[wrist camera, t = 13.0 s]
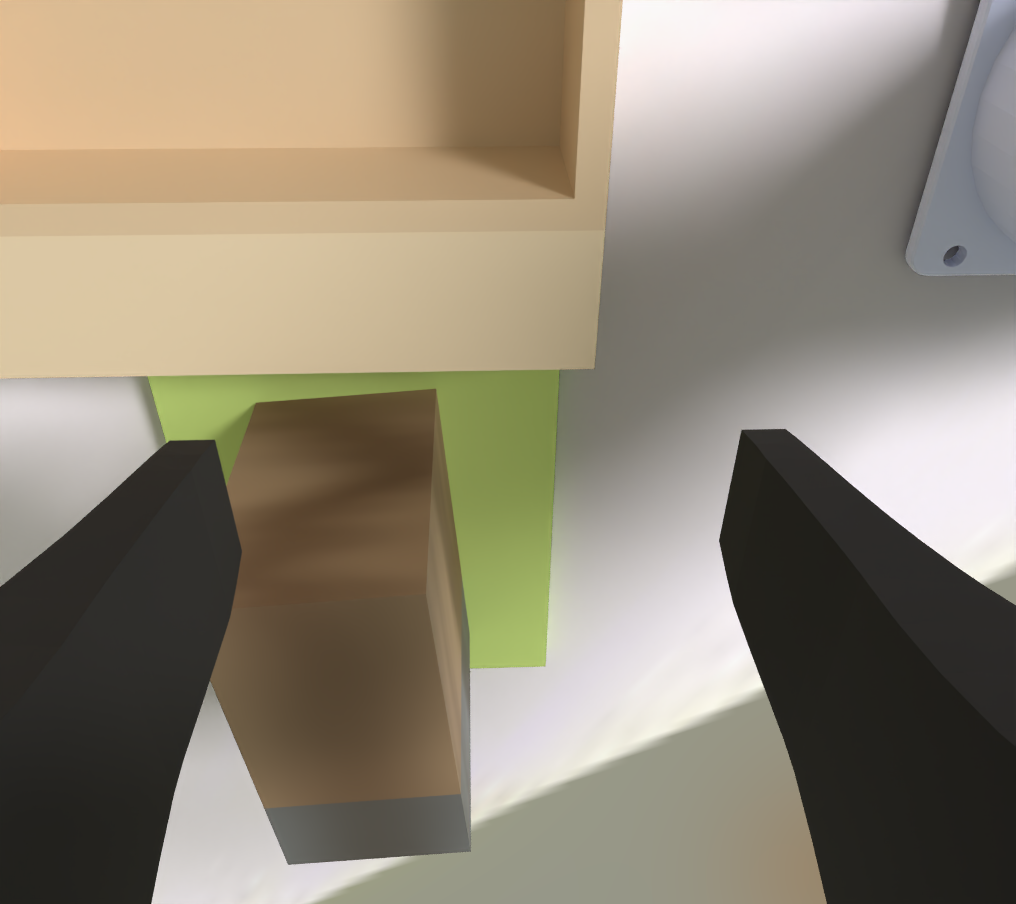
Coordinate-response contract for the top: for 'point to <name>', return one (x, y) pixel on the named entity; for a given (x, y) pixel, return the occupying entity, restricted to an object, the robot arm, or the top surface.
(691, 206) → the top surface
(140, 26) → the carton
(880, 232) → the top surface
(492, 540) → the mat
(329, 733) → the box
